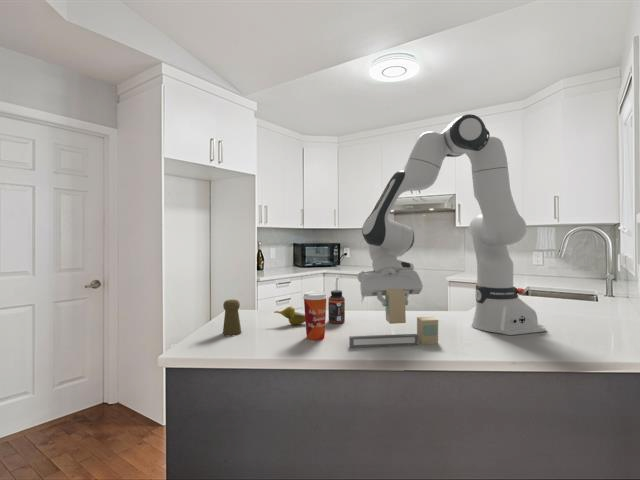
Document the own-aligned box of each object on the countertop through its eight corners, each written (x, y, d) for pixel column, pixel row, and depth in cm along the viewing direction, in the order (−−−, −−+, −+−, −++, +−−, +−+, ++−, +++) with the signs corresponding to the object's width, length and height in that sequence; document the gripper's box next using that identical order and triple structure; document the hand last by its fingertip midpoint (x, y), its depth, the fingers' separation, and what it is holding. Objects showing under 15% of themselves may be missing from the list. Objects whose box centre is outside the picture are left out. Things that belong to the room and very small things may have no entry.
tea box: (432, 339, 114) (432, 316, 114) (438, 343, 110) (438, 320, 110) (417, 339, 114) (416, 317, 113) (421, 344, 110) (421, 320, 109)
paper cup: (309, 342, 112) (309, 296, 111) (299, 336, 119) (298, 292, 118) (332, 338, 115) (332, 293, 115) (321, 332, 122) (320, 290, 122)
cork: (245, 331, 124) (244, 299, 124) (233, 336, 119) (233, 302, 118) (230, 329, 127) (229, 297, 126) (218, 334, 121) (217, 301, 121)
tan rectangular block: (400, 319, 122) (400, 288, 121) (405, 322, 117) (405, 291, 116) (385, 319, 121) (384, 289, 121) (389, 323, 116) (388, 291, 116)
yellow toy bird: (274, 324, 134) (273, 306, 133) (315, 322, 136) (315, 304, 135) (274, 327, 129) (274, 308, 129) (317, 325, 131) (317, 306, 131)
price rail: (416, 343, 110) (416, 333, 110) (418, 345, 108) (418, 335, 108) (349, 346, 108) (349, 336, 108) (350, 348, 107) (350, 337, 107)
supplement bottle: (343, 324, 132) (343, 292, 132) (327, 323, 133) (326, 292, 133) (345, 320, 138) (345, 289, 138) (330, 319, 139) (329, 289, 139)
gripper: (357, 265, 124) (364, 300, 115) (417, 263, 126) (428, 297, 117) (355, 277, 129) (362, 311, 120) (413, 274, 131) (424, 308, 121)
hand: (395, 304), depth 118 cm, fingers closed on tan rectangular block, 5 cm apart
